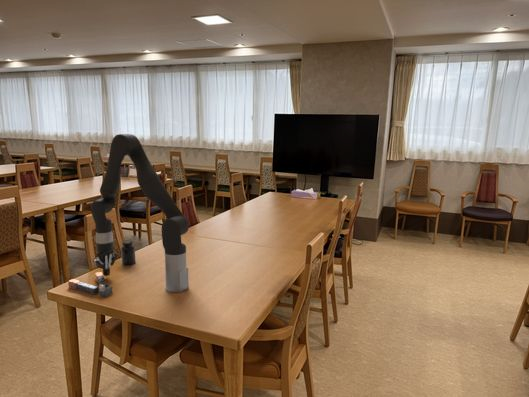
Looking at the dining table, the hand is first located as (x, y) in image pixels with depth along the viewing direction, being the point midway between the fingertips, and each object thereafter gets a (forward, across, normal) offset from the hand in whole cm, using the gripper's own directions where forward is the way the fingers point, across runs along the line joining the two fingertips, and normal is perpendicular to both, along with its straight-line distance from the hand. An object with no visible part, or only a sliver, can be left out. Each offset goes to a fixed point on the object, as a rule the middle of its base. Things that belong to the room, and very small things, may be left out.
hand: (106, 275), depth 177 cm
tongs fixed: (+1, -13, -5) cm, 14 cm away
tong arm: (+1, -6, -4) cm, 8 cm away
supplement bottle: (+2, +19, +6) cm, 20 cm away
